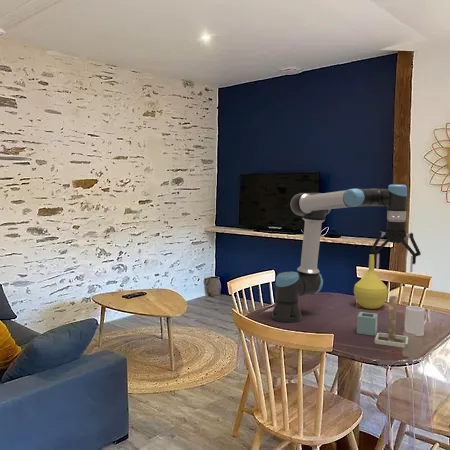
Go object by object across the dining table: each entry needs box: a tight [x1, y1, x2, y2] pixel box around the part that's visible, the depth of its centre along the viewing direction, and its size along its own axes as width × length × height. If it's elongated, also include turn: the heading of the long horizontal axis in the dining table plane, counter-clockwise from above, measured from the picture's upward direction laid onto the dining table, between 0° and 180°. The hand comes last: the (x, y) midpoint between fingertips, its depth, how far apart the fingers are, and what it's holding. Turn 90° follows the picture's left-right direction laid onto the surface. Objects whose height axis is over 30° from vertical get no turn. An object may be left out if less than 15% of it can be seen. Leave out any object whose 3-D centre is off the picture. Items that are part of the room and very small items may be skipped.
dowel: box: [387, 295, 397, 342], centre depth 199 cm, size 3×3×20 cm
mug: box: [404, 305, 428, 337], centre depth 214 cm, size 12×8×12 cm
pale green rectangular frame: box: [374, 331, 409, 349], centre depth 200 cm, size 13×11×3 cm
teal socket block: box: [356, 311, 379, 337], centre depth 212 cm, size 8×8×9 cm
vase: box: [353, 253, 389, 310], centre depth 260 cm, size 18×18×30 cm
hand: (394, 270), depth 197 cm, fingers open, 13 cm apart
